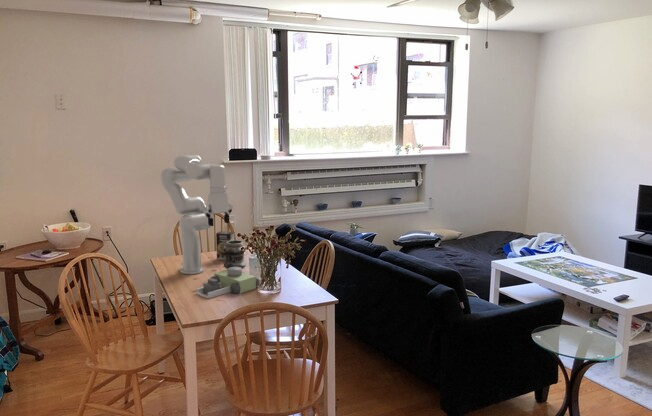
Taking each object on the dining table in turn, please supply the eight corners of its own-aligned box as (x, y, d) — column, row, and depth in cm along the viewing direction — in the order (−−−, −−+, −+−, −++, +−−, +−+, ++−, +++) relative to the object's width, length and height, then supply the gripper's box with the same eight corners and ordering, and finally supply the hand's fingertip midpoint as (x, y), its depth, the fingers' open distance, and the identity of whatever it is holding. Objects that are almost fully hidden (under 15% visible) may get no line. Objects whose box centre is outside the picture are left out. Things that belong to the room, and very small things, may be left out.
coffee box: (216, 260, 304) (215, 233, 301) (220, 257, 310) (219, 231, 307) (231, 260, 302) (230, 233, 300) (234, 257, 309) (234, 231, 306)
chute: (203, 293, 245) (203, 280, 244) (212, 290, 249) (211, 277, 248) (211, 296, 241) (210, 282, 240) (219, 293, 245) (219, 280, 244)
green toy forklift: (189, 291, 248) (188, 273, 246) (232, 278, 267) (232, 262, 266) (215, 301, 234) (215, 282, 233) (259, 287, 254) (259, 269, 252)
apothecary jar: (241, 278, 268) (241, 244, 265) (220, 276, 271) (219, 243, 268) (249, 271, 280) (249, 239, 277) (229, 270, 282) (228, 238, 279)
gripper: (227, 187, 262) (228, 220, 265) (198, 191, 249) (199, 225, 252) (236, 189, 257) (237, 222, 260) (207, 192, 244) (209, 228, 247)
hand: (219, 224), depth 256 cm, fingers open, 9 cm apart
